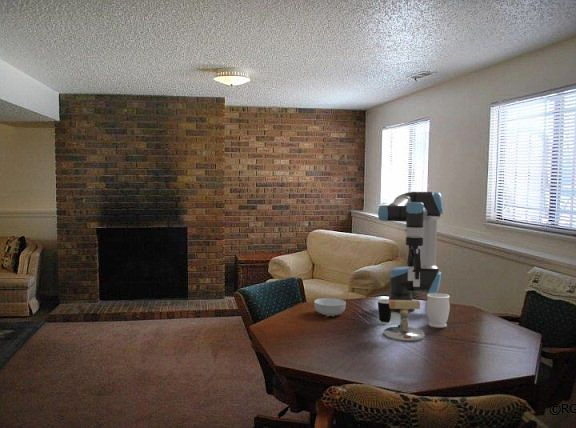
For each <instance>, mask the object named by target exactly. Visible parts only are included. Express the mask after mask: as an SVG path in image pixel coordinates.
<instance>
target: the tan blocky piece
mask: <svg viewBox="0 0 576 428" xmlns="http://www.w3.org/2000/svg"><path fill="white" fill-rule="evenodd" d="M389 307H390V309H401V312H400V317H408V318H409V312H408V309H415V310H420V309H421V302H420V301H419V300H416V299H415V300H414V299H413V300H389ZM408 327H409V319H408V320H403V330H405V331H408Z"/></svg>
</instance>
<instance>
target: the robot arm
mask: <svg viewBox="0 0 576 428" xmlns="http://www.w3.org/2000/svg"><path fill="white" fill-rule="evenodd" d="M442 214H444V202H443V196H442V194H441V193H440V192H439V191H437V192H436V191H408V192H405V193H402V194H400V195H398V196H396V197H395V198H394V200H393V202H391V203H390V204H388V205H386V204H381V205H380V206H379V207H378V210H377V216H378V220H379V221H382V222H401V223H402V222H403V223H404V222H406V223H405V226H406V227H405V229H404V231H405V235H406V237H405V245H406V246H408V254H407V259H406V260H407V262H406V264H407V266H397V267H394V268H392V269H390V275H389V278H390V279H389V297H388V299H389V300H414V299H413V295H412V292H414V293H426V294H427V293H428V294H430V293H439V289H440V286H441V282H442V280H441V279H442V272H441V271H440V270H439V269H440V267H438V265H437V245H438V244H437V239H438V236H437V235H438V220H439V219H441V215H442ZM415 310H416V309H408V313H411V312H415ZM392 312H394V313H401V309H392Z"/></svg>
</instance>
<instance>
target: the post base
mask: <svg viewBox="0 0 576 428" xmlns="http://www.w3.org/2000/svg"><path fill="white" fill-rule="evenodd" d="M399 320H400V321H399V322H400V323H399V324H397V326H390V327H386V328H384V329H383V337H385V338H387V339H389V340H391V341H395V342H404V343H405V342H406V343H414V342H421V341H423V340H424V339H425V332H424V331H423V330H421V329H419V328H415V327H410V326H408V331H405V330H403V320H408V321H409V316H408V317H401V316H400V319H399Z"/></svg>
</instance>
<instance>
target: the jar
mask: <svg viewBox="0 0 576 428" xmlns="http://www.w3.org/2000/svg"><path fill="white" fill-rule="evenodd" d="M426 294H427V293H426ZM426 297H427V300H426V312H427V320H428V321H429V322H428V326H429V327H432V328H437V329H438V328H439V329H442V328H447V326H448V325H447V322H448V319H449V316H450V315H449V314H450V308H451V307H450V301H449V300H450V299H451V298H450V297H451V296H450V295H449V294H447V293H439V292H437V293H428V294H427V295H426Z"/></svg>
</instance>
